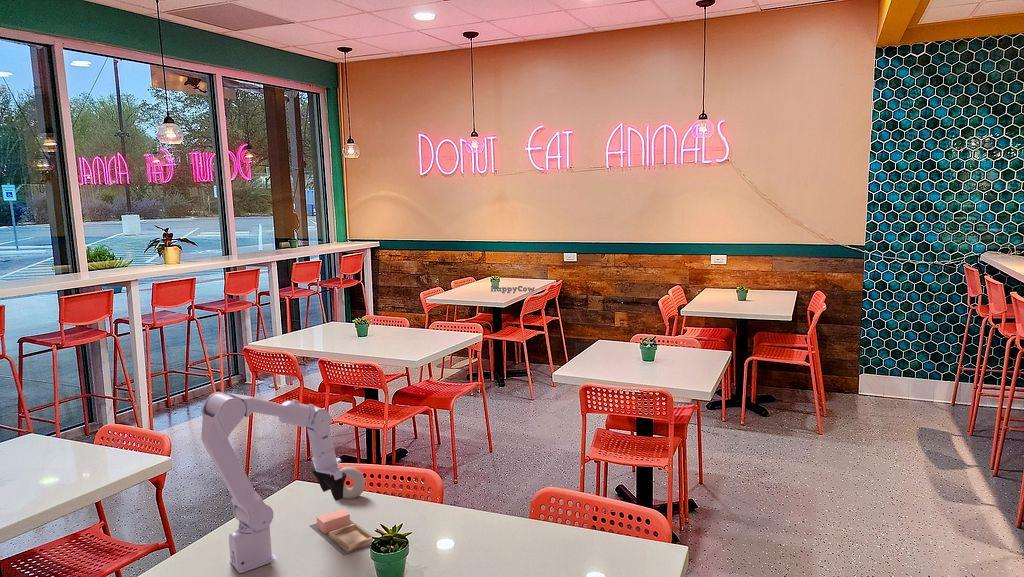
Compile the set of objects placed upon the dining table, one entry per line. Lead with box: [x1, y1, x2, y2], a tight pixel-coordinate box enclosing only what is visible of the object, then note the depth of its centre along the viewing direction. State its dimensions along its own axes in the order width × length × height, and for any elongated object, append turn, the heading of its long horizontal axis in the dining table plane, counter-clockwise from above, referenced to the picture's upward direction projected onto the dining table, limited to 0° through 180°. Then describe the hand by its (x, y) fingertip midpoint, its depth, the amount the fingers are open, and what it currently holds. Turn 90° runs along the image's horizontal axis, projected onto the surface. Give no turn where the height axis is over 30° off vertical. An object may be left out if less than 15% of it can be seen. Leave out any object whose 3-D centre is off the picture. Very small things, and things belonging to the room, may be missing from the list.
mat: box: [309, 519, 371, 557], centre depth 181 cm, size 10×22×1 cm, turn 39°
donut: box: [339, 466, 366, 500], centre depth 204 cm, size 10×4×10 cm, turn 84°
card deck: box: [316, 508, 351, 533], centre depth 185 cm, size 8×5×3 cm, turn 129°
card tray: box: [329, 522, 376, 553], centre depth 177 cm, size 8×11×2 cm
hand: (332, 494), depth 184 cm, fingers open, 7 cm apart
